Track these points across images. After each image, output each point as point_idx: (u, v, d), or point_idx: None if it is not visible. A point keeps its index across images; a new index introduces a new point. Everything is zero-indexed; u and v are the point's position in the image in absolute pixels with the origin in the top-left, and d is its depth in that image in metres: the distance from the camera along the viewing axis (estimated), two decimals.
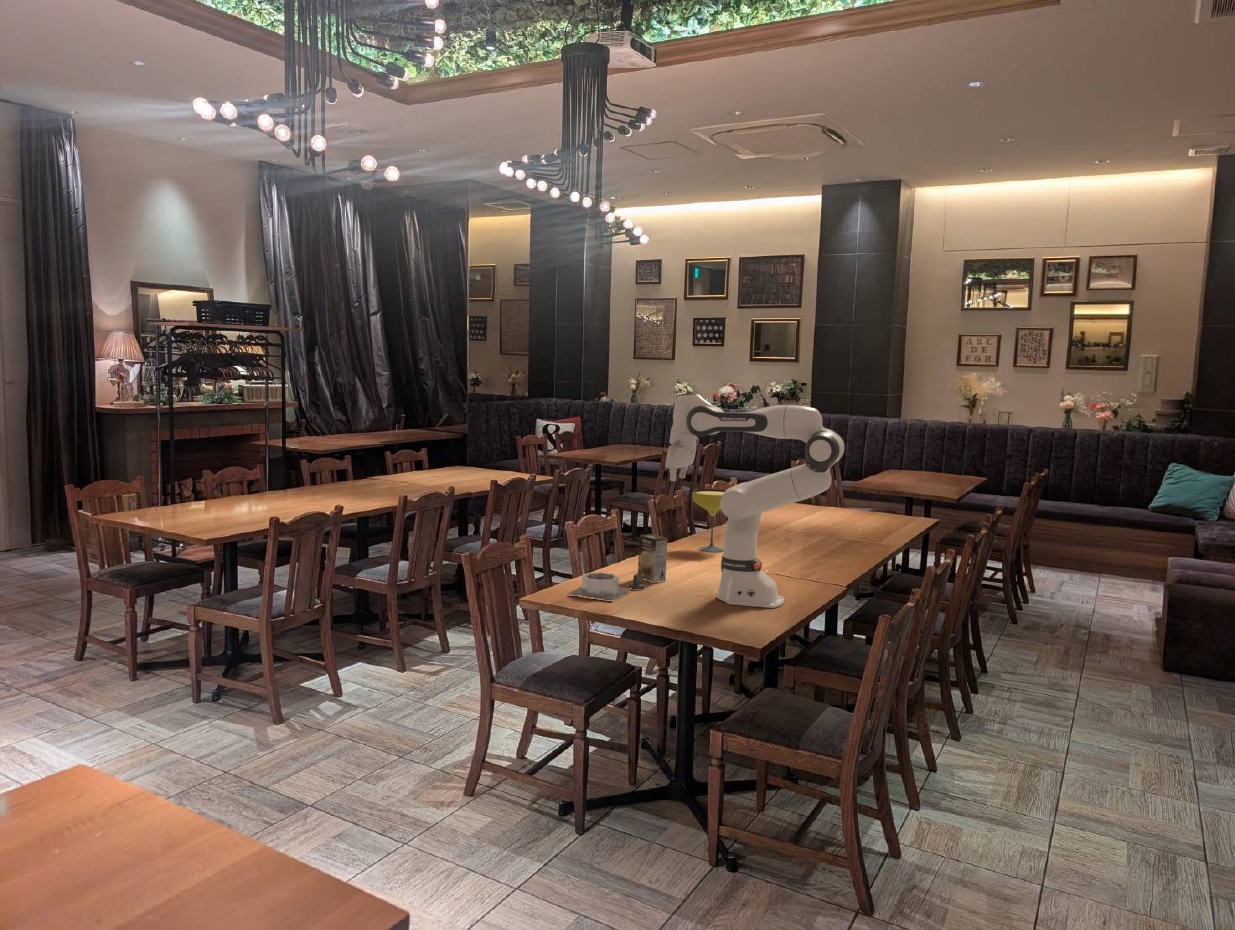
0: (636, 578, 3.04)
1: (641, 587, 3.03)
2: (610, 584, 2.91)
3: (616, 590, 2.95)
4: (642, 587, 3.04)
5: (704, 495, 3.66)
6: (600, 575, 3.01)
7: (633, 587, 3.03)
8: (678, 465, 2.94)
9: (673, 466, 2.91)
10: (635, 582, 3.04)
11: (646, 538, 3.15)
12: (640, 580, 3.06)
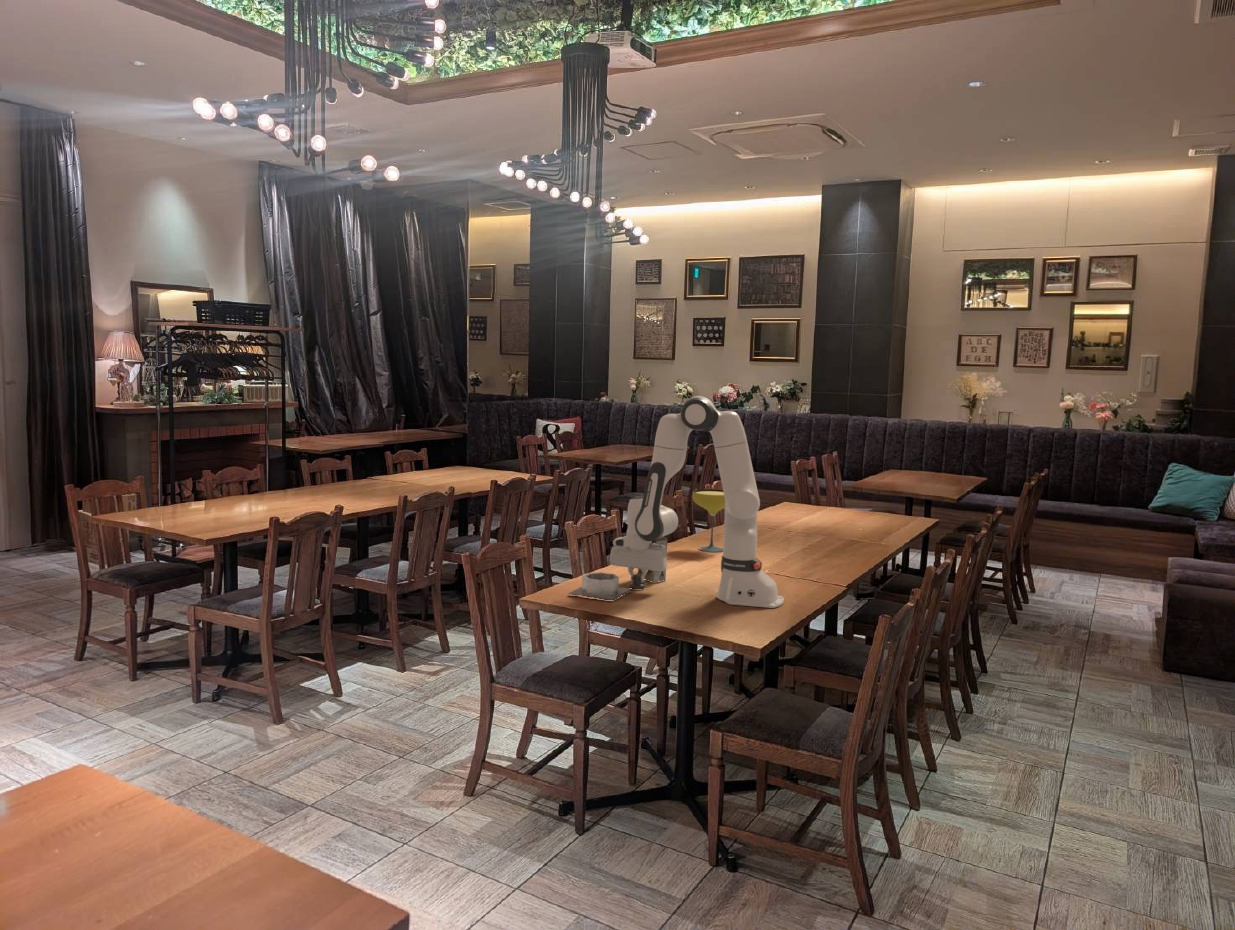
0: (636, 578, 3.04)
1: (641, 587, 3.03)
2: (610, 584, 2.91)
3: (616, 590, 2.95)
4: (642, 587, 3.04)
5: (704, 495, 3.66)
6: (600, 575, 3.01)
7: (633, 587, 3.03)
8: None
9: None
10: (635, 582, 3.04)
11: None
12: None
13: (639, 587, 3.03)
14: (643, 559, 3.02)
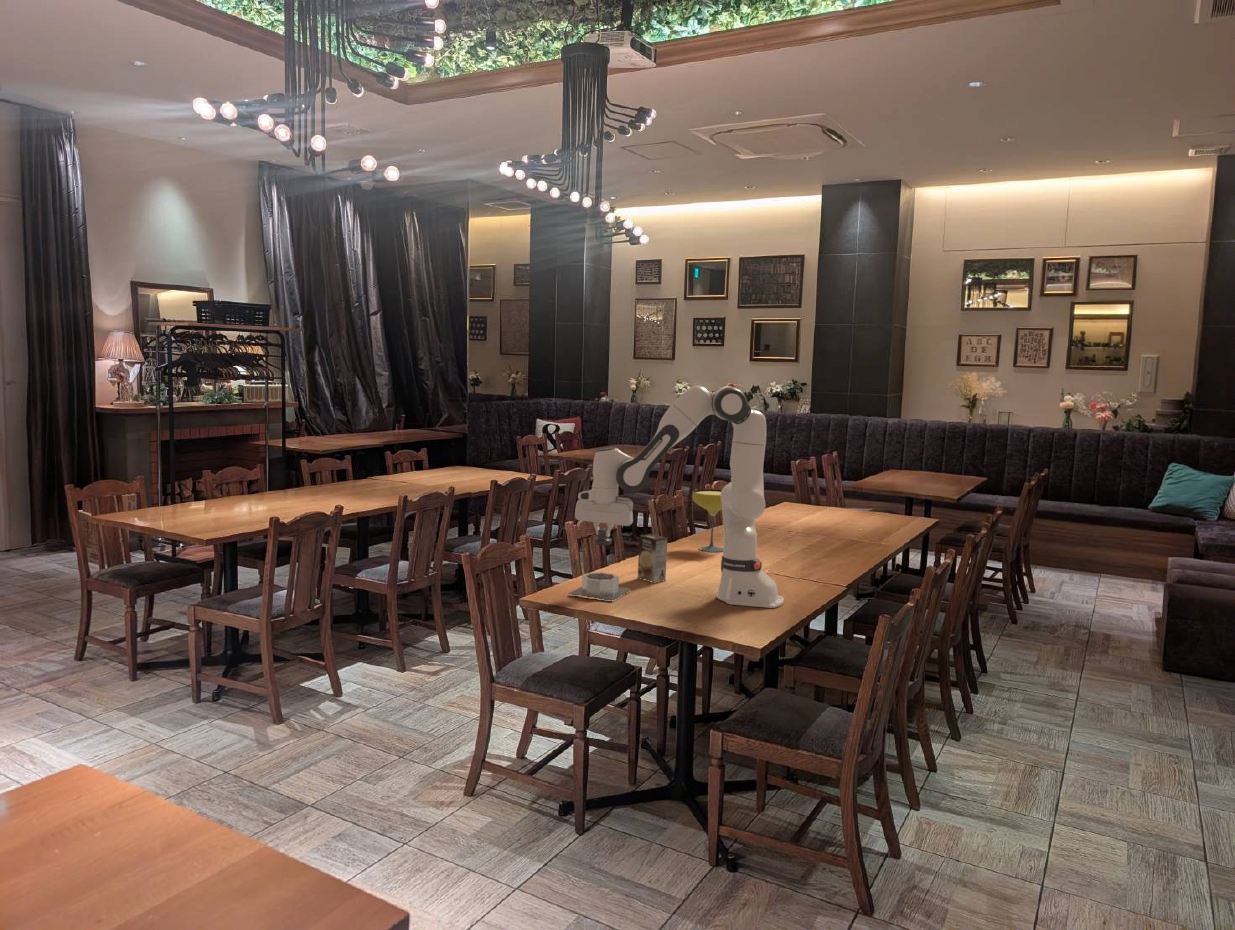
0: (601, 533, 2.93)
1: (606, 542, 2.93)
2: (610, 584, 2.91)
3: (616, 590, 2.95)
4: (607, 542, 2.93)
5: (704, 495, 3.66)
6: (600, 575, 3.01)
7: (598, 542, 2.93)
8: None
9: (632, 522, 2.92)
10: (600, 537, 2.93)
11: (646, 538, 3.15)
12: None
13: (604, 542, 2.92)
14: (609, 513, 2.91)
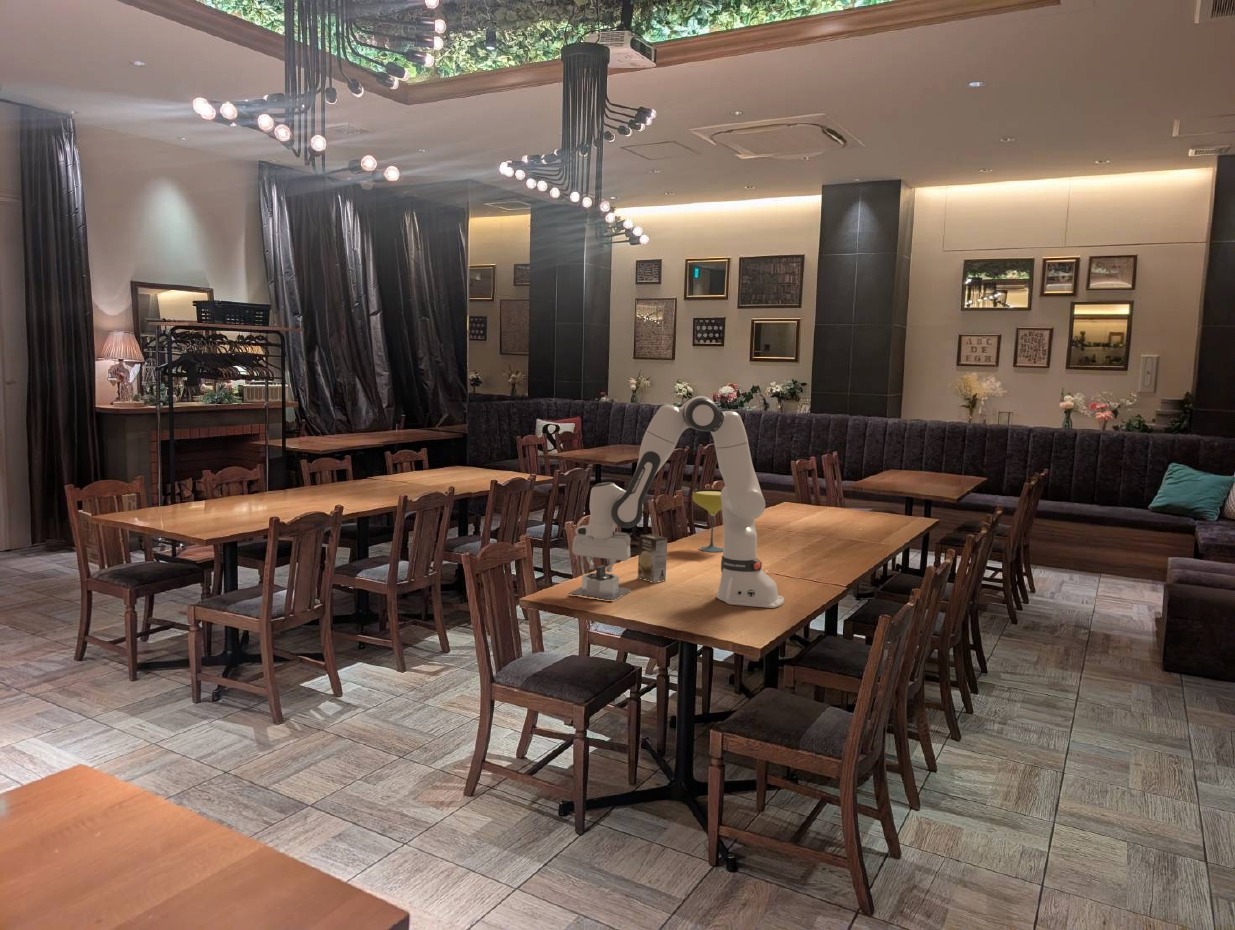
0: (599, 571, 2.93)
1: (604, 579, 2.93)
2: (610, 584, 2.91)
3: (616, 590, 2.95)
4: (605, 579, 2.93)
5: (704, 495, 3.66)
6: None
7: (596, 579, 2.93)
8: None
9: (629, 556, 2.92)
10: (598, 574, 2.94)
11: (646, 538, 3.15)
12: (603, 573, 2.96)
13: None
14: (606, 548, 2.92)
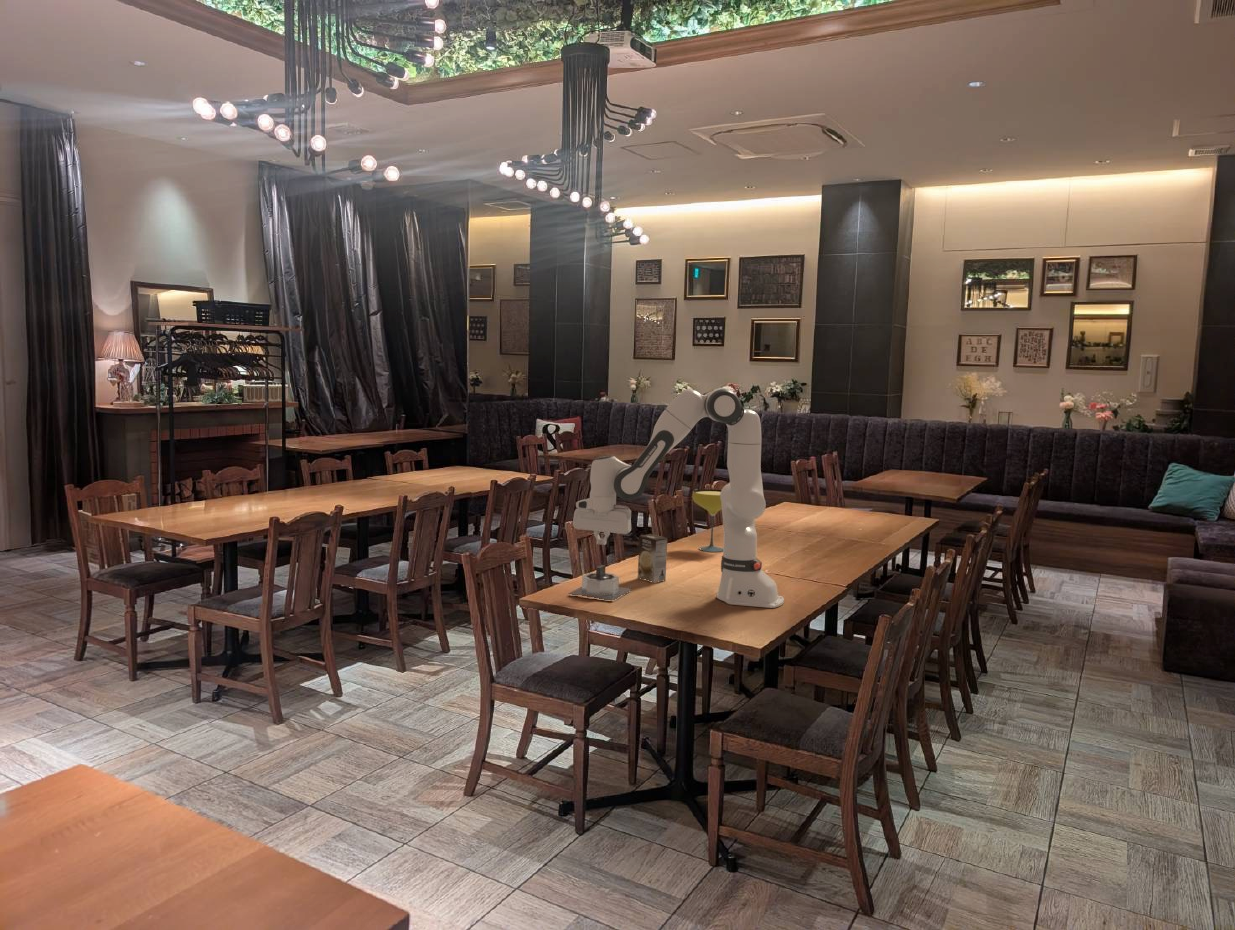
0: (599, 571, 2.93)
1: (604, 579, 2.93)
2: (610, 584, 2.91)
3: (616, 590, 2.95)
4: (605, 579, 2.93)
5: (704, 495, 3.66)
6: None
7: (596, 579, 2.93)
8: None
9: (630, 530, 2.91)
10: (598, 574, 2.94)
11: (646, 538, 3.15)
12: (603, 573, 2.96)
13: None
14: (607, 521, 2.91)
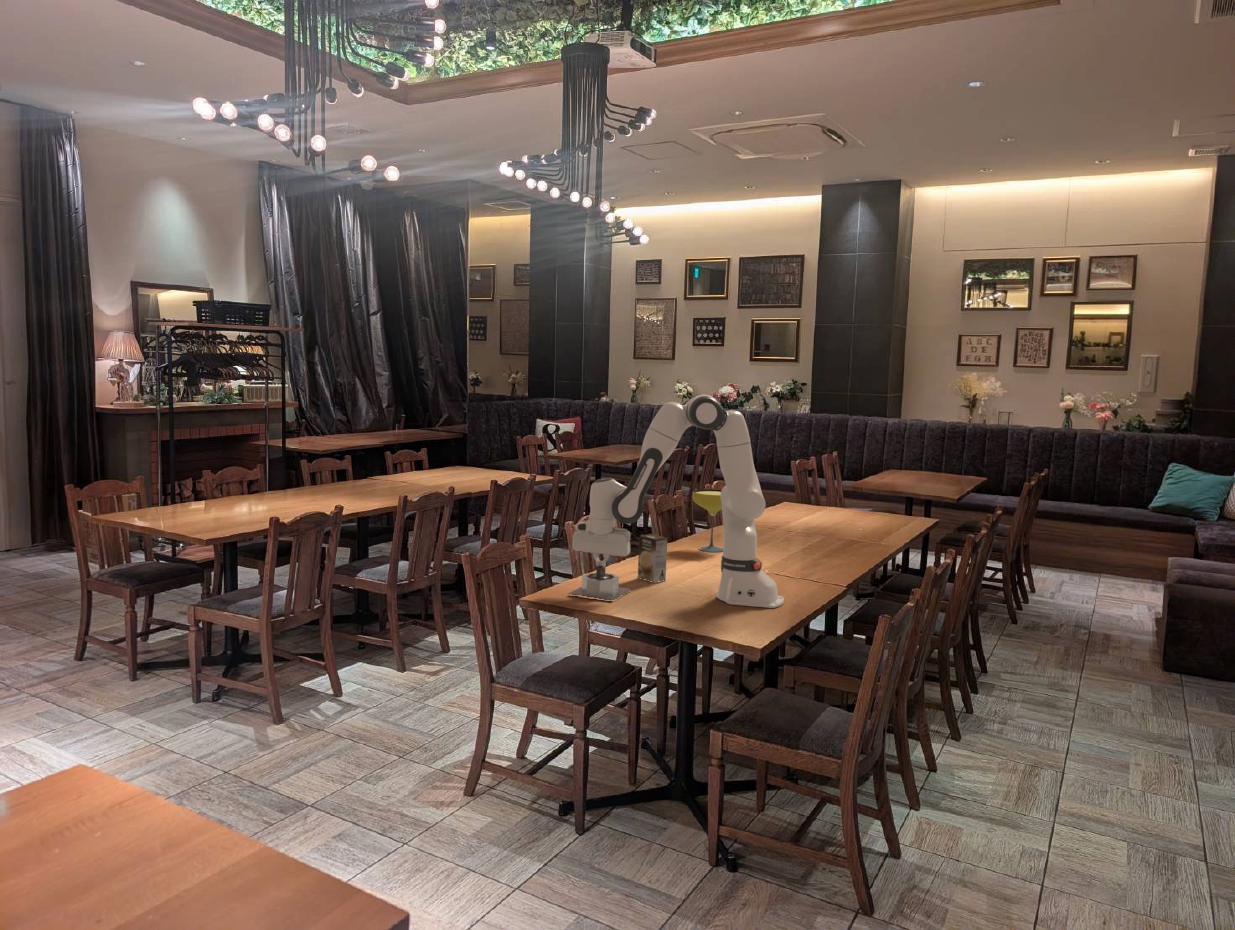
0: (599, 571, 2.93)
1: (604, 579, 2.93)
2: (610, 584, 2.91)
3: (616, 590, 2.95)
4: (605, 579, 2.93)
5: (704, 495, 3.66)
6: None
7: None
8: None
9: (629, 552, 2.92)
10: (598, 574, 2.94)
11: (646, 538, 3.15)
12: (603, 573, 2.96)
13: None
14: (606, 544, 2.92)
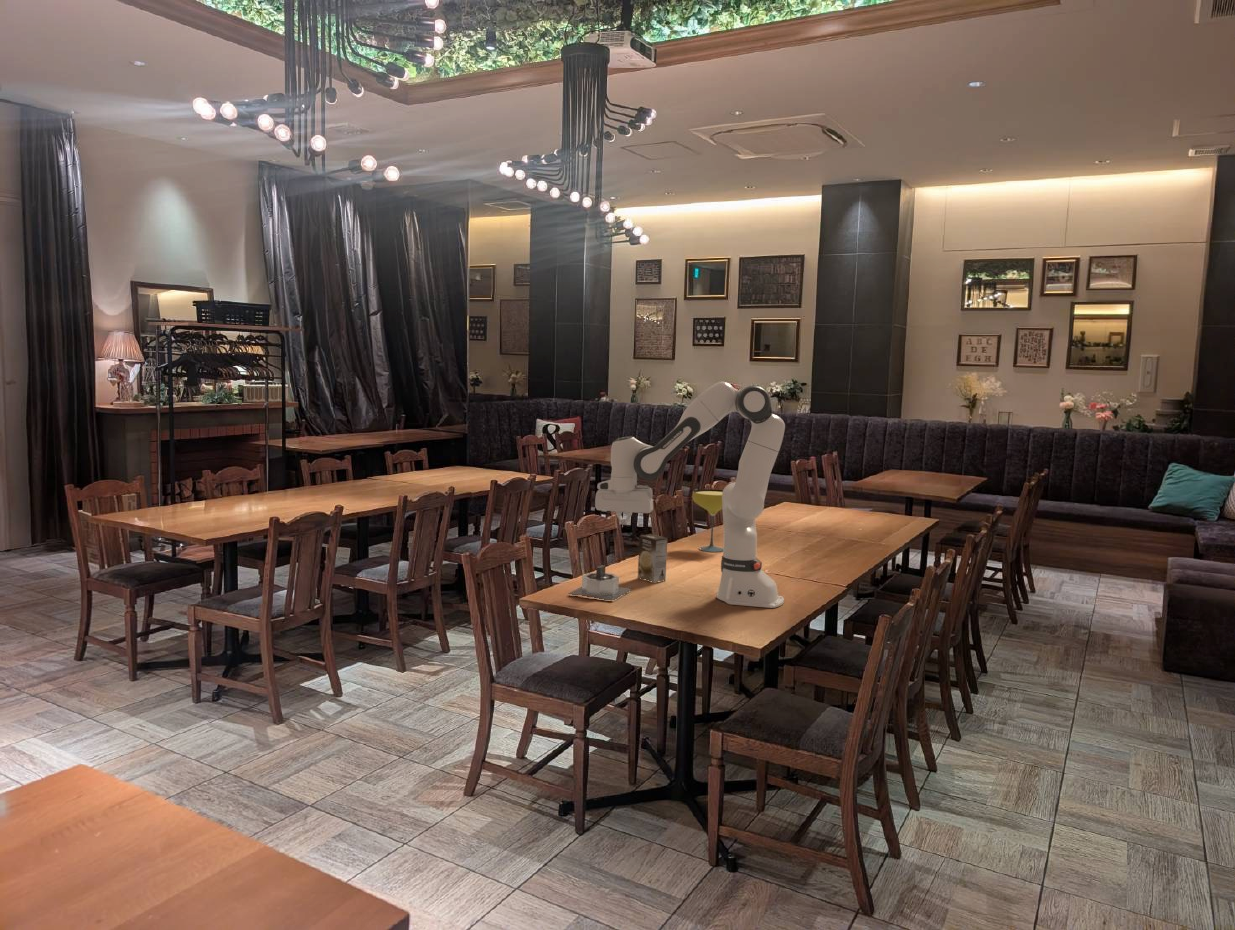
0: (599, 571, 2.93)
1: (604, 579, 2.93)
2: (610, 584, 2.91)
3: (616, 590, 2.95)
4: (605, 579, 2.93)
5: (704, 495, 3.66)
6: None
7: None
8: None
9: (652, 509, 2.95)
10: (598, 574, 2.94)
11: (646, 538, 3.15)
12: (603, 573, 2.96)
13: None
14: (629, 501, 2.95)
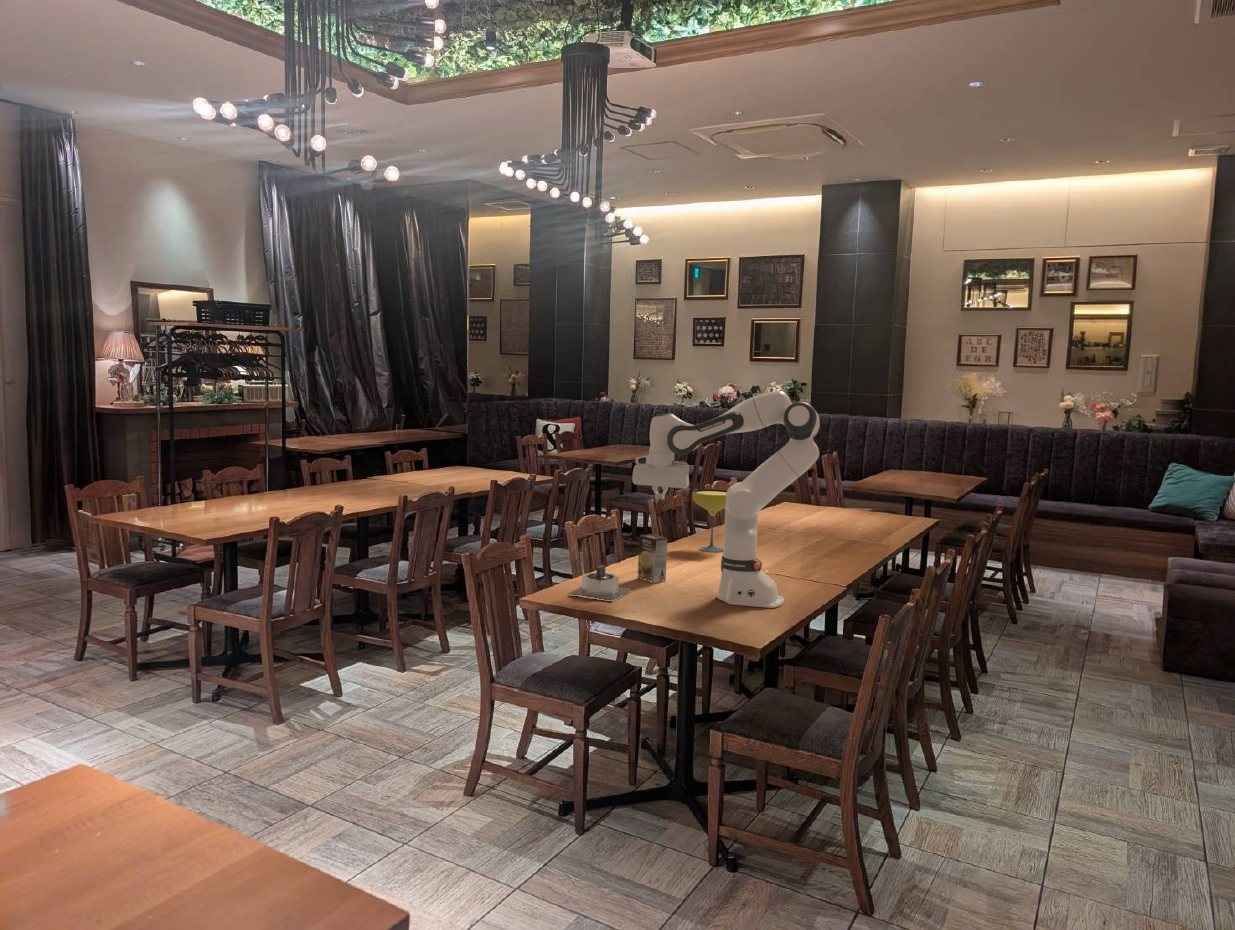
0: (599, 571, 2.93)
1: (604, 579, 2.93)
2: (610, 584, 2.91)
3: (616, 590, 2.95)
4: (605, 579, 2.93)
5: (704, 495, 3.66)
6: None
7: None
8: None
9: (688, 485, 3.03)
10: (598, 574, 2.94)
11: (646, 538, 3.15)
12: (603, 573, 2.96)
13: None
14: (666, 476, 3.03)
